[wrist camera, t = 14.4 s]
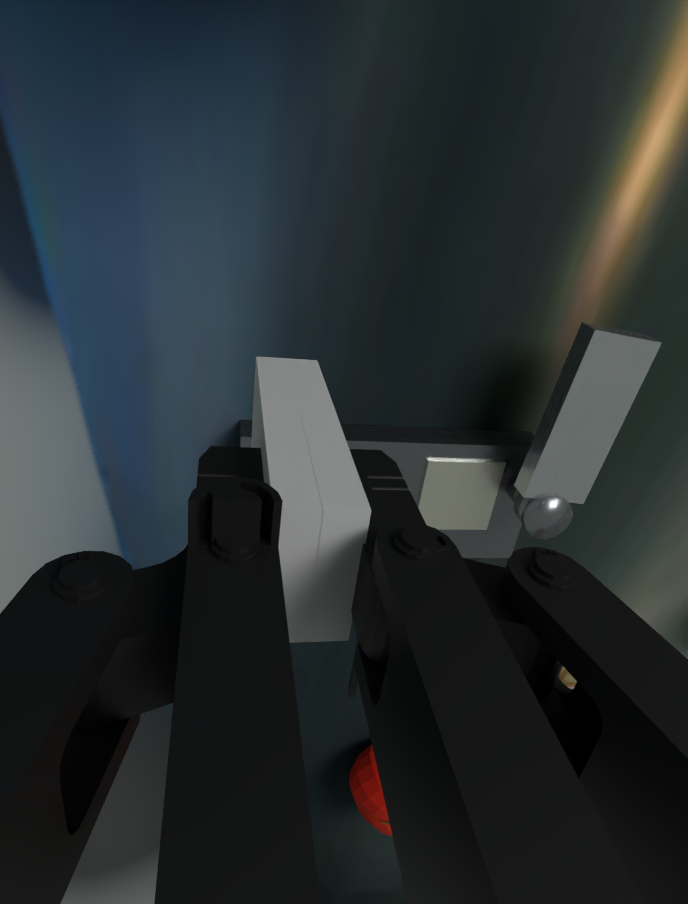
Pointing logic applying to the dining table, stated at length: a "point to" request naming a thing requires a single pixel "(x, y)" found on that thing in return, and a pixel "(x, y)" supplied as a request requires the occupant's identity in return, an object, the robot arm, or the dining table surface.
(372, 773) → the tomato
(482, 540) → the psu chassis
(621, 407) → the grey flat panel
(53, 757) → the robot arm
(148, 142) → the dining table surface
